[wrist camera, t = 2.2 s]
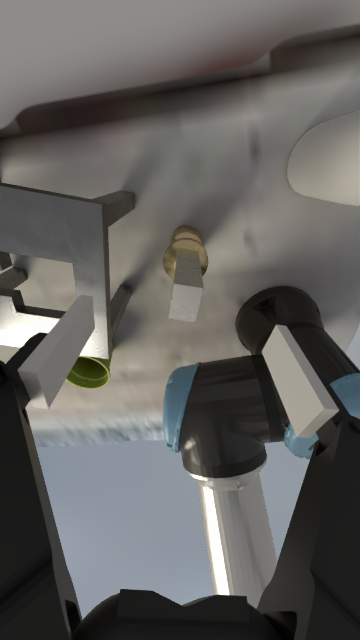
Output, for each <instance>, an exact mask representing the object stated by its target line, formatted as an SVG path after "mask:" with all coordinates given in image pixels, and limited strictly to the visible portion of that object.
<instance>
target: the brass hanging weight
mask: <svg viewBox="0 0 360 640" xmlns="http://www.w3.org/2000/svg"><path fill="white" fill-rule="evenodd" d="M163 263H164V268H165V271H166V273H167V274H168V276H169V277H170V278H172V279H173V285H172V293H171V301H170V309H169V317H168V318H170V319H176V320H183V321H190V322H195V321H196V317H197V313H198V309H199V305H200V302H201V298H202V294H203V290H204V286H203V279H202V276H203V275H204V274H205V272H206V270H207V267H208V256H207V252H206V250H205V248H204V246H203V244H202V239H201V235H200V233H199V232H198V230H197V229H195V228H194V227H192V226H187V225H185V226H181V227H179V228H177V229H176V230H175V231H174V232H173V234H172V236H171V240H170V244H169V246H168V248H167V250H166V252H165V255H164V261H163Z"/></svg>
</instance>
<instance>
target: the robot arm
mask: <svg viewBox="0 0 360 640" xmlns="http://www.w3.org/2000/svg"><path fill="white" fill-rule="evenodd" d="M94 329H95V321H94V310H93V298H92V296H86V295H80V296H79V298H78V299H77V300H76V301H75V302H74V303H73V305H72V306H71V307H70V308H69V309H68V311H67V312H66V313H65V314H64V315H63V317H62V318H61V319H60V320H59V321H58V322H57V324H56V325H55V326H54V327H53V328H52V330H51V331H50V332H49V333H42V332H39V333H37V334H36V335H34V336H32V337H30V338H29V339H28V341H27V342H26V343H25V344H24V346H22V347H21V348H20V349H19V351H17V352H16V354H15V355H14V356H13V357H12V358H11V359H10V360H9V361H8V362H7V363H6V364H5V363H4V362H2V361H0V640H360V370H359V369H358V368H357V367H356V366H355V365H354V363H353V362H352V361H351V360H350V359H349V358H348V357H347V355H346V354H345V353H344V352H343V351H342V350H341V349H340V347H339V346H338V345H337V344H336V343H335V342H334V341H333V339H332V338H331V337H330V336H329V335H328V334H327V332H326V331H325V330H324V327H323V324H322V321H321V320H320V311H319V308H318V306H317V305H316V303H315V302H314V301H313V299H312V298H311V297H310V296H309V295H308V294H307V293H305V292H304V291H302V290H300V289H297V288H294V287H287V286H281V287H274V288H269V289H266V290H264V291H261V292H259V293H257V294H256V295H254V296H253V297H251V298H250V299H249V300H248V301H247V302H246V303H245V304H244V305H243V306H242V308H241V309H240V311H239V313H238V315H237V318H236V331H237V334H238V337H239V340H240V342H241V343H242V345H243V346H244V347H245V348H246V349H247V350H249V351H250V353H251V354H252V355H250V356H242V357H236V358H230V359H223V360H217V361H211V362H205V363H201V362H199V363H196V364H194V365H190V366H185V367H180V368H178V369H176V370H175V371H173V372H172V374H171V375H170V377H169V379H168V382H167V386H166V390H165V396H164V404H163V430H164V437H165V441H166V443H167V447H168V449H169V450H170V451H174V452H175V453H178V452H179V451H181V453H182V460H183V466H184V469H185V471H186V472H187V473H188V474H189V475H190V476H192V477H193V478H194V479H196V480H197V486H198V493H199V499H200V505H201V512H202V519H203V525H204V532H205V538H206V545H207V551H208V557H209V564H210V570H211V577H212V584H213V589H214V595H212V596H208V597H203V598H199V599H197V600H194V601H192V602H189V603H187V604H184V605H182V606H181V605H179V604H177V603H175V602H173V601H172V600H170V599H168V598H166V597H163V596H161V595H160V594H158V593H156V592H154V591H147V590H128V589H121V590H120V593H118V594H116V595H113V596H111V597H109V598H107V599H106V600H104V601H102V602H101V603H100V604H99V605H97V606H96V607H95V608H94V609H93V610H92V611H91V612H90V613H89V614H88V615H87V616H86V617H85V618H84V619H83V620H82V616H81V613H80V609H79V605H78V601H77V597H76V593H75V590H74V587H73V583H72V580H71V577H70V574H69V571H68V569H67V566H66V562H65V558H64V554H63V550H62V546H61V542H60V539H59V535H58V531H57V527H56V523H55V519H54V516H53V512H52V508H51V504H50V500H49V496H48V492H47V489H46V485H45V481H44V477H43V473H42V469H41V465H40V461H39V458H38V454H37V450H36V446H35V442H34V438H33V434H32V431H31V427H30V423H29V419H28V415H27V411H26V409H25V407H26V405H27V404H28V403H29V401H30V402H31V404H32V406H33V407H37V408H46V409H49V407H50V405H51V404H52V402H53V400H54V398H55V397H56V395H57V393H58V392H59V390H60V388H61V386H62V385H63V383H64V381H65V379H66V378H67V376H68V374H69V372H70V371H71V369H72V367H73V365H74V364H75V362H76V360H77V359H78V357H79V355H80V353H81V352H82V350H83V348H84V346H85V345H86V343H87V341H88V339H89V338H90V336H91V334H92V333H93V331H94ZM280 441H284V442H285V445H286V447H287V448H288V449H289V450H290V451H291V453H292V454H294V455H295V456H297V457H300V458H303V457H305V458H307V459H310V462H309V465H308V468H307V471H306V474H305V478H304V480H303V484H302V487H301V490H300V493H299V496H298V499H297V502H296V506H295V509H294V512H293V515H292V518H291V521H290V525H289V528H288V531H287V534H286V537H285V541H284V544H283V547H282V550H281V553H280V556H279V559H278V562H277V558H276V553H275V548H274V543H273V538H272V534H271V529H270V524H269V519H268V515H267V510H266V505H265V501H264V496H263V491H262V486H261V481H260V477H259V472H260V471H261V469H262V468H263V467H264V465H265V464H266V461H267V454H266V450H265V446H264V443H270V442H280Z"/></svg>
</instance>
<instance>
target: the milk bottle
mask: <svg viewBox="0 0 360 640" xmlns="http://www.w3.org/2000/svg"><path fill="white" fill-rule="evenodd" d="M287 177H288V181H289V184H290V186H291V187H292V189H293V190H294V191H295V192H297V193H298V194H301V195H304V196H307V197H312V198H316V199H321V200H326V201H331V202H336V203H341V204H347V205H354V206H360V110H357V111H354V112H351V113H348V114H345V115H342V116H339V117H337V118H334V119H331V120H328V121H325V122H323V123H320V124H318V125H316V126H314V127H312V128H311V129H310V130H308V131H307V132H306V133H305V134H304V135H303V136H302V137H301V138H300V139H299V140H298V142H297V143H296V145H295V146H294V148H293V150H292V152H291V155H290V157H289V161H288V166H287Z"/></svg>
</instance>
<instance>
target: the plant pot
mask: <svg viewBox="0 0 360 640" xmlns="http://www.w3.org/2000/svg"><path fill="white" fill-rule="evenodd" d="M111 345H112V352H111V354H110V356H109V359H103V358H96V357H89V356H81V355H79V357H78V359H77V360H76V362H75V364H74V365H73V367H72V369H71V371H70V372H69V374H68V376H67V378H66V380H67V381H68V382H69V383H71V384H73V385H75V386H77V387H80V388H85V389H98V388H101V387H104V386H105V385H107V383H108V382H109V380H110V368H109V367H110V362H111V357H112V353H113V348H114V345H113V342H112V341H111Z"/></svg>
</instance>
